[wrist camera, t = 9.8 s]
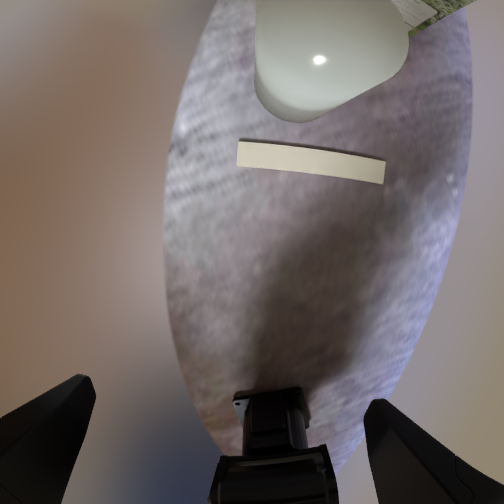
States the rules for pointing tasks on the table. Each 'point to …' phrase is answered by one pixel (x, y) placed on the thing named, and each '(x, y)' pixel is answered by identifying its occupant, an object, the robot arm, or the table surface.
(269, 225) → the table surface
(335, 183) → the table surface
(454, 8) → the syrup box
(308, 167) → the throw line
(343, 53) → the grey-green rounded cylinder
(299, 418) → the robot arm
